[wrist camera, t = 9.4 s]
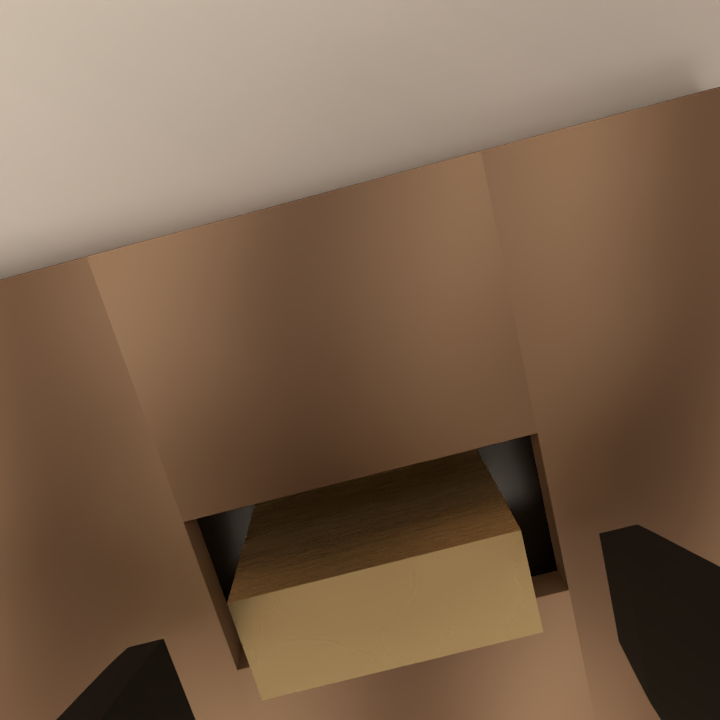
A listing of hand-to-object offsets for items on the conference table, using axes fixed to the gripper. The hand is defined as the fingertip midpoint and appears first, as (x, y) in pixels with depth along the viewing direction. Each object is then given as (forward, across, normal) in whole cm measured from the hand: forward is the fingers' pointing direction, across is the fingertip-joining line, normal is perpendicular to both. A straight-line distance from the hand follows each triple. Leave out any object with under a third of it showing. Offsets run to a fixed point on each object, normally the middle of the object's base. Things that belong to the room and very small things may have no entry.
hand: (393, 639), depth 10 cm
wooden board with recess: (+6, 0, 0) cm, 6 cm away
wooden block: (+6, 0, 0) cm, 6 cm away
